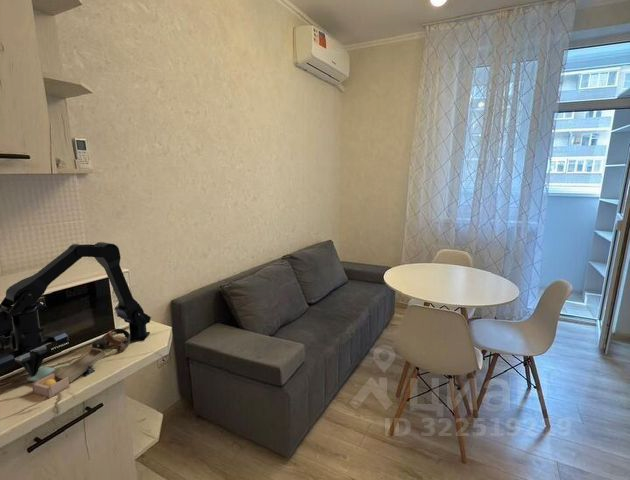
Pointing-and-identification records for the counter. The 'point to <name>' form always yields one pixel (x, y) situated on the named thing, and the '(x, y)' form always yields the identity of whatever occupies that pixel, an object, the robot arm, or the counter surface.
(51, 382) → the ball
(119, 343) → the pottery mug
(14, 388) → the counter surface
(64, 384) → the dish
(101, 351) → the lever
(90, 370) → the fulcrum
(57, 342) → the robot arm
